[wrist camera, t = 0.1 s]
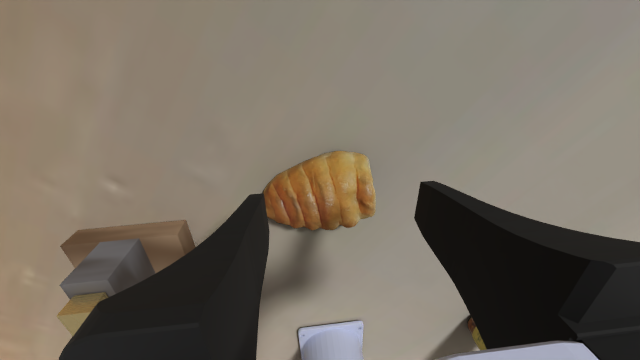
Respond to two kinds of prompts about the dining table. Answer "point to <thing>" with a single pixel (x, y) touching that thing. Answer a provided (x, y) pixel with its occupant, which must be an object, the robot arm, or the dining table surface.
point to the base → (151, 235)
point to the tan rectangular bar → (79, 310)
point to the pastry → (323, 192)
